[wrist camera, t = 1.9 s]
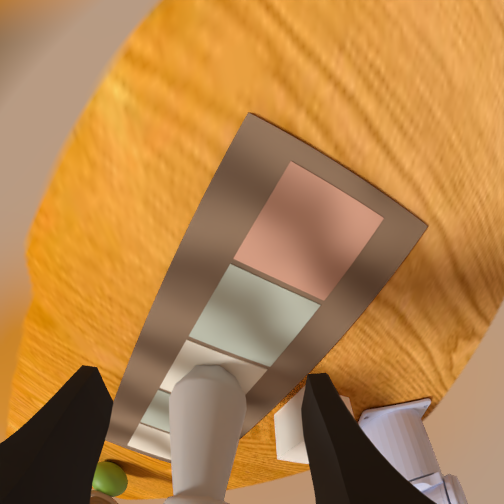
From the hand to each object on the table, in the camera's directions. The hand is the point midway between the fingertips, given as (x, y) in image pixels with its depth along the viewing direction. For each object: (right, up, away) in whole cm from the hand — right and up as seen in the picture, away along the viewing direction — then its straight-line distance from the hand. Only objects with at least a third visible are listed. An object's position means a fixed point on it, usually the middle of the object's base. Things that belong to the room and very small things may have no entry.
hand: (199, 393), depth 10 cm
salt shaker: (-2, -5, +14) cm, 15 cm away
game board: (-2, -5, +14) cm, 15 cm away
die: (+7, -9, +17) cm, 21 cm away
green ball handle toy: (-17, -25, +24) cm, 39 cm away
